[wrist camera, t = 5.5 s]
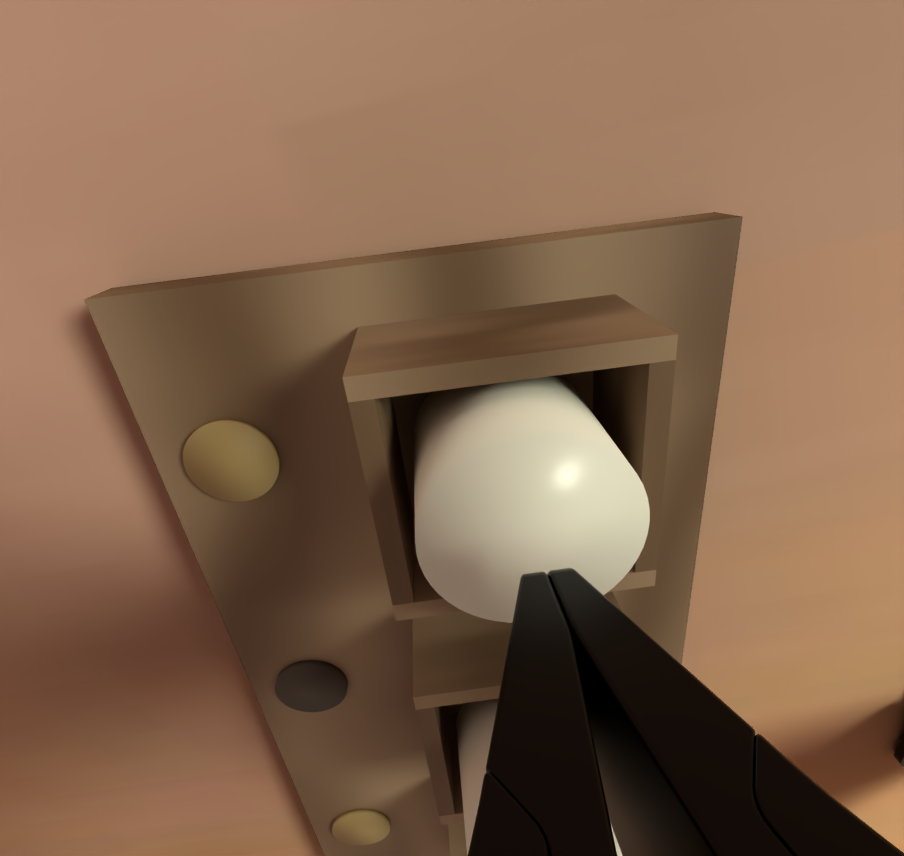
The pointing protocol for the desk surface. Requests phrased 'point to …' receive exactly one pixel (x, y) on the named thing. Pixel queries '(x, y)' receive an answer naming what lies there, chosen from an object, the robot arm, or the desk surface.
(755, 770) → the robot arm
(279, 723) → the board
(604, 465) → the button
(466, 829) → the button
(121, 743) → the desk surface
